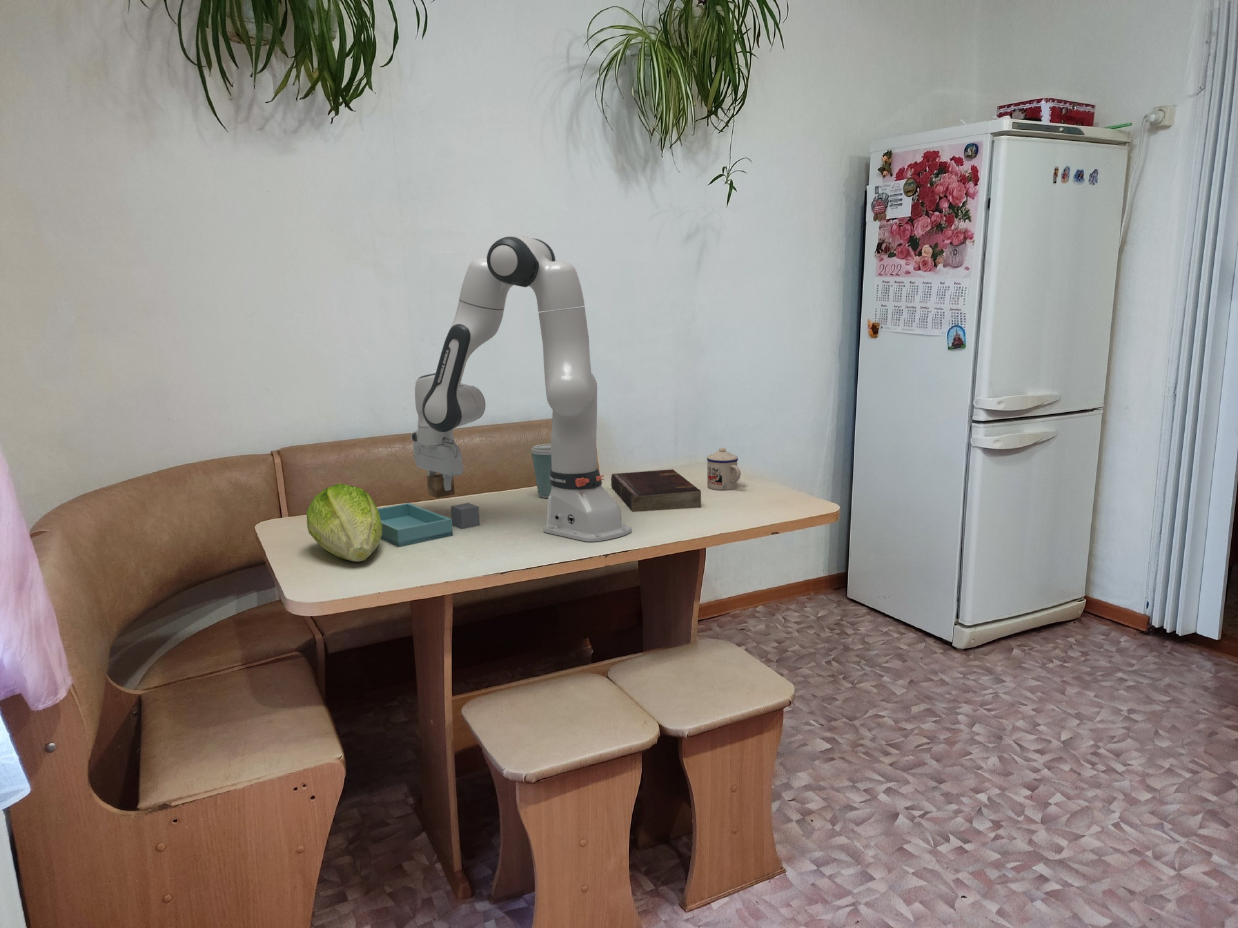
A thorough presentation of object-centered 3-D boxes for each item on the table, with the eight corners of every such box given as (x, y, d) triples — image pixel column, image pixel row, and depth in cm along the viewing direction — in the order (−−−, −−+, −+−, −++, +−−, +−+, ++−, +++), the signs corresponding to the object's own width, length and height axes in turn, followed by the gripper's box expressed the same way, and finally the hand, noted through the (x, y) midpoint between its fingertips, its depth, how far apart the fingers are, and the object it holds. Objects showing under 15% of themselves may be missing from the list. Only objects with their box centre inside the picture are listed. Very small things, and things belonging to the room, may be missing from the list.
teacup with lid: (700, 486, 256) (700, 447, 253) (723, 482, 261) (724, 444, 258) (727, 494, 246) (727, 453, 244) (751, 489, 251) (751, 450, 249)
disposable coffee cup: (525, 498, 244) (523, 446, 241) (542, 490, 253) (541, 439, 250) (559, 501, 240) (558, 448, 237) (575, 493, 250) (574, 441, 247)
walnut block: (454, 494, 226) (453, 475, 225) (437, 497, 223) (435, 478, 222) (445, 491, 230) (443, 473, 229) (428, 495, 227) (426, 476, 226)
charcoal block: (479, 525, 217) (478, 506, 216) (462, 529, 213) (461, 509, 212) (469, 521, 220) (468, 502, 219) (451, 525, 217) (450, 506, 216)
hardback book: (611, 489, 256) (610, 472, 255) (672, 485, 259) (672, 469, 258) (631, 513, 228) (631, 495, 227) (700, 509, 231) (700, 490, 230)
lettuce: (398, 579, 191) (324, 599, 186) (376, 518, 210) (308, 534, 204) (389, 526, 183) (312, 545, 178) (367, 467, 202) (296, 483, 196)
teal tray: (452, 535, 208) (451, 519, 207) (398, 546, 199) (397, 530, 198) (410, 517, 225) (409, 502, 224) (358, 527, 216) (357, 512, 215)
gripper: (467, 438, 218) (471, 492, 220) (429, 430, 233) (433, 481, 236) (444, 441, 214) (449, 496, 216) (407, 434, 229) (412, 485, 232)
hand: (441, 488), depth 226 cm, fingers closed on walnut block, 5 cm apart
